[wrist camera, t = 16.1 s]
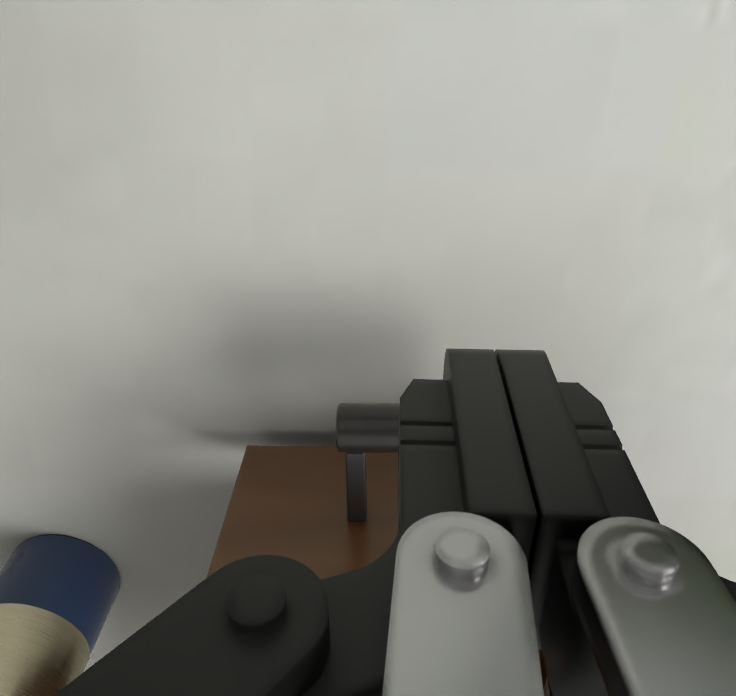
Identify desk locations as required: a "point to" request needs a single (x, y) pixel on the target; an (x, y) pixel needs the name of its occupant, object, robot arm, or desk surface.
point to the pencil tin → (51, 612)
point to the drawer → (321, 498)
